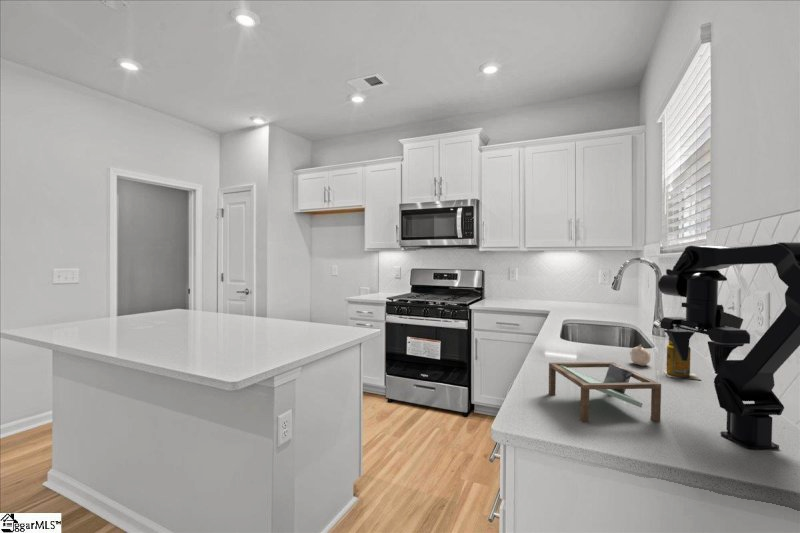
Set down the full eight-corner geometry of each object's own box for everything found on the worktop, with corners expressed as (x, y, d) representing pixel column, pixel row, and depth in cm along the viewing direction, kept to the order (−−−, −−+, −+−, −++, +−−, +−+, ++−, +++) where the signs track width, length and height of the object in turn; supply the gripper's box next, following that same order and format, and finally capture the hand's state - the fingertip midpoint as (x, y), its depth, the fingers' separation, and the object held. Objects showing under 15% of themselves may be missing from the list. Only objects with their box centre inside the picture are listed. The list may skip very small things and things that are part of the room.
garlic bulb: (625, 363, 133) (625, 340, 133) (636, 361, 136) (637, 339, 136) (644, 368, 127) (644, 344, 127) (656, 366, 130) (656, 343, 130)
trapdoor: (641, 407, 88) (642, 403, 88) (586, 386, 88) (588, 382, 88) (605, 386, 102) (607, 383, 102) (558, 368, 102) (560, 364, 102)
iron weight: (628, 395, 93) (636, 374, 93) (610, 388, 93) (618, 367, 93) (616, 388, 98) (623, 368, 98) (598, 381, 98) (606, 361, 98)
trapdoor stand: (660, 421, 87) (661, 384, 86) (583, 422, 86) (583, 385, 86) (612, 392, 105) (613, 362, 104) (548, 393, 104) (549, 362, 104)
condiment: (662, 370, 125) (663, 334, 125) (694, 374, 122) (695, 336, 121) (668, 377, 118) (669, 339, 118) (701, 381, 115) (702, 341, 115)
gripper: (776, 304, 80) (774, 378, 80) (701, 295, 98) (699, 355, 99) (725, 304, 79) (723, 378, 79) (659, 295, 98) (658, 355, 98)
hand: (700, 365), depth 89 cm, fingers open, 9 cm apart
